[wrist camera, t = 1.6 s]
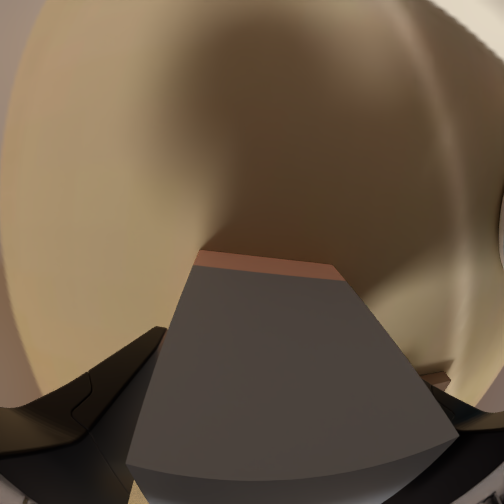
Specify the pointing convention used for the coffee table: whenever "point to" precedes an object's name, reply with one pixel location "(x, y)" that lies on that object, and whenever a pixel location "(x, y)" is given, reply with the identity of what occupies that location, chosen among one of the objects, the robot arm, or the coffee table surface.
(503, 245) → the beverage bottle
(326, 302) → the banded block
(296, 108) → the coffee table surface
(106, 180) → the coffee table surface
